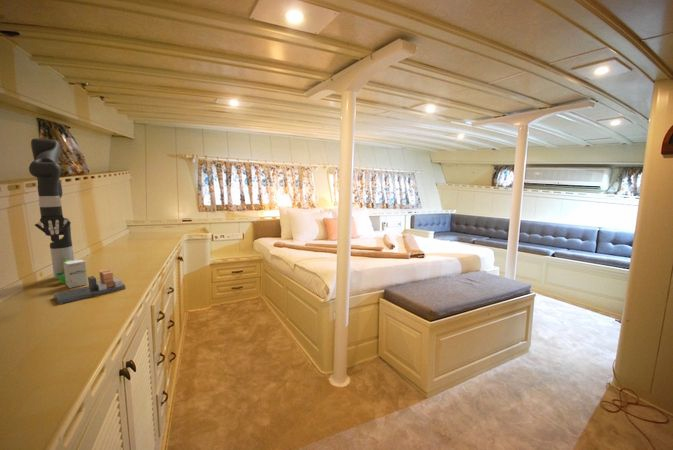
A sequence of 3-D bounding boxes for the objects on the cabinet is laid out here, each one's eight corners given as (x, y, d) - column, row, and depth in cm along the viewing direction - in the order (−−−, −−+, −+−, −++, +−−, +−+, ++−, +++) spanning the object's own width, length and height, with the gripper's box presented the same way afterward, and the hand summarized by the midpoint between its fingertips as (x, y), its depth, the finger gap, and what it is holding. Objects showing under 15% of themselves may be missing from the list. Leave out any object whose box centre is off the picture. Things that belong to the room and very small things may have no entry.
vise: (53, 297, 140) (52, 288, 140) (117, 283, 159) (116, 275, 159) (59, 304, 133) (57, 294, 132) (125, 288, 152) (124, 280, 151)
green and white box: (61, 285, 157) (58, 264, 156) (55, 282, 162) (52, 261, 160) (88, 279, 167) (86, 259, 165) (81, 276, 171) (79, 257, 170)
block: (114, 286, 150) (112, 272, 149) (105, 287, 147) (103, 274, 146) (109, 282, 155) (107, 269, 154) (100, 284, 152) (99, 271, 151)
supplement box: (69, 288, 152) (66, 264, 150) (66, 285, 157) (62, 261, 155) (88, 284, 158) (85, 261, 156) (84, 281, 163) (81, 258, 161)
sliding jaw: (87, 286, 150) (86, 275, 149) (99, 283, 153) (98, 273, 153) (94, 291, 142) (92, 280, 141) (106, 288, 146) (105, 278, 145)
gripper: (31, 207, 133) (37, 245, 136) (70, 205, 144) (75, 240, 146) (29, 206, 138) (34, 243, 141) (67, 204, 148) (71, 239, 151)
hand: (55, 242), depth 143 cm, fingers closed
